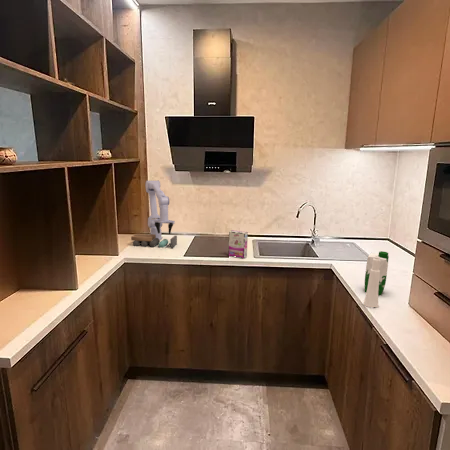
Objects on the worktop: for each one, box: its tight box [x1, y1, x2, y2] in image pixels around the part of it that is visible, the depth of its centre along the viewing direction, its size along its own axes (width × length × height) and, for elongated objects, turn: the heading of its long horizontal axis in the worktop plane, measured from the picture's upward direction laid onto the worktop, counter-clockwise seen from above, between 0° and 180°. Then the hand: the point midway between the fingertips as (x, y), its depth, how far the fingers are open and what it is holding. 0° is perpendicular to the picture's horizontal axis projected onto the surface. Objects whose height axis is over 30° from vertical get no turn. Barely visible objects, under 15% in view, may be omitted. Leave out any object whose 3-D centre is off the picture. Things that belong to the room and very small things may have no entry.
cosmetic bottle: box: [363, 256, 380, 309], centre depth 142 cm, size 6×6×22 cm
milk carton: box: [364, 250, 389, 296], centre depth 157 cm, size 9×9×20 cm
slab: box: [130, 233, 156, 241], centre depth 232 cm, size 10×14×2 cm
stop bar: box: [169, 235, 178, 249], centre depth 230 cm, size 11×2×6 cm, turn 173°
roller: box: [158, 238, 169, 249], centre depth 231 cm, size 10×4×4 cm
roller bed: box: [132, 238, 170, 249], centre depth 232 cm, size 10×24×4 cm, turn 83°
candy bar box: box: [228, 229, 249, 259], centre depth 209 cm, size 11×5×16 cm, turn 62°
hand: (164, 233), depth 230 cm, fingers open, 7 cm apart
